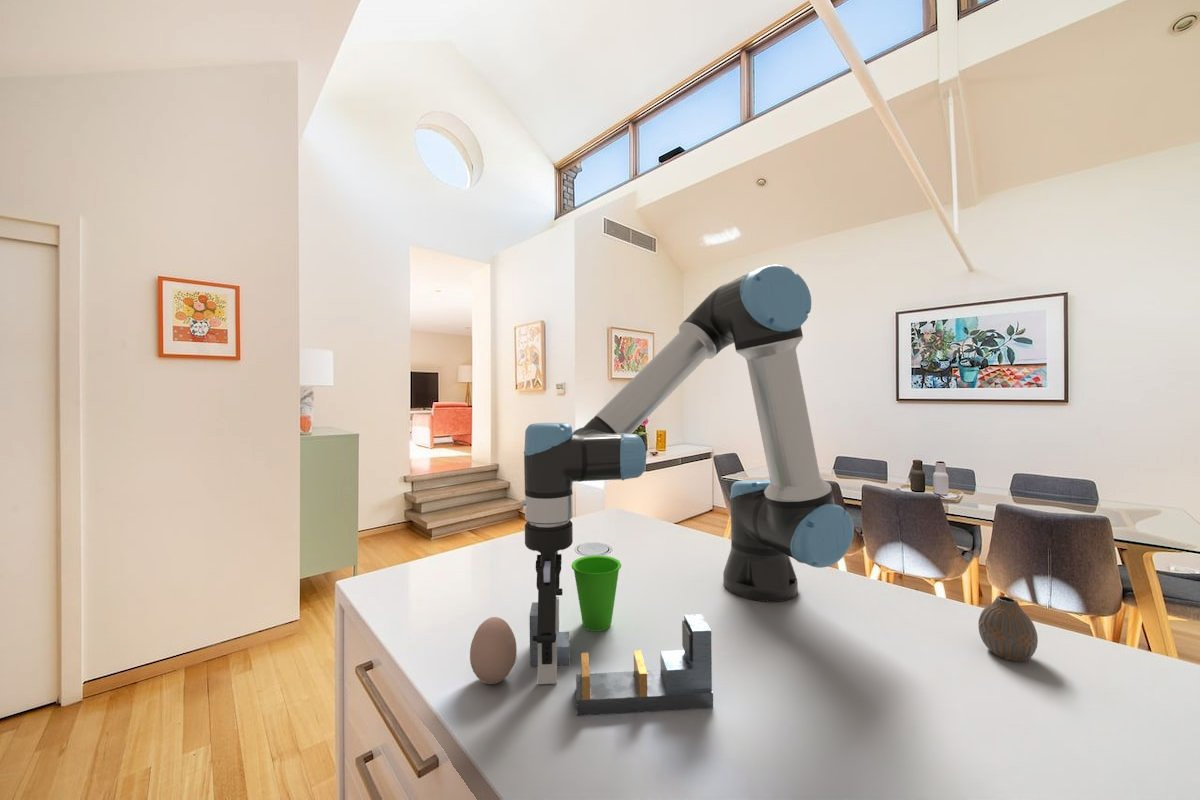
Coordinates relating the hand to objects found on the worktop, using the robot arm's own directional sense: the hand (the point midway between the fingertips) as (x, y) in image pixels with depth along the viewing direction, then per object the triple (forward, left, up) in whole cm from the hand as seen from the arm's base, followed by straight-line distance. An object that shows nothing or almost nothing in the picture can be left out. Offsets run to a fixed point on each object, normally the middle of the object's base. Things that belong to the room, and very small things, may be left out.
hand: (549, 657), depth 71 cm
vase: (-72, +5, 0) cm, 72 cm away
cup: (-8, -10, 0) cm, 13 cm away
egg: (+8, +5, 0) cm, 9 cm away
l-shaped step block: (0, 0, 0) cm, 0 cm away
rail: (-13, +10, 0) cm, 17 cm away
